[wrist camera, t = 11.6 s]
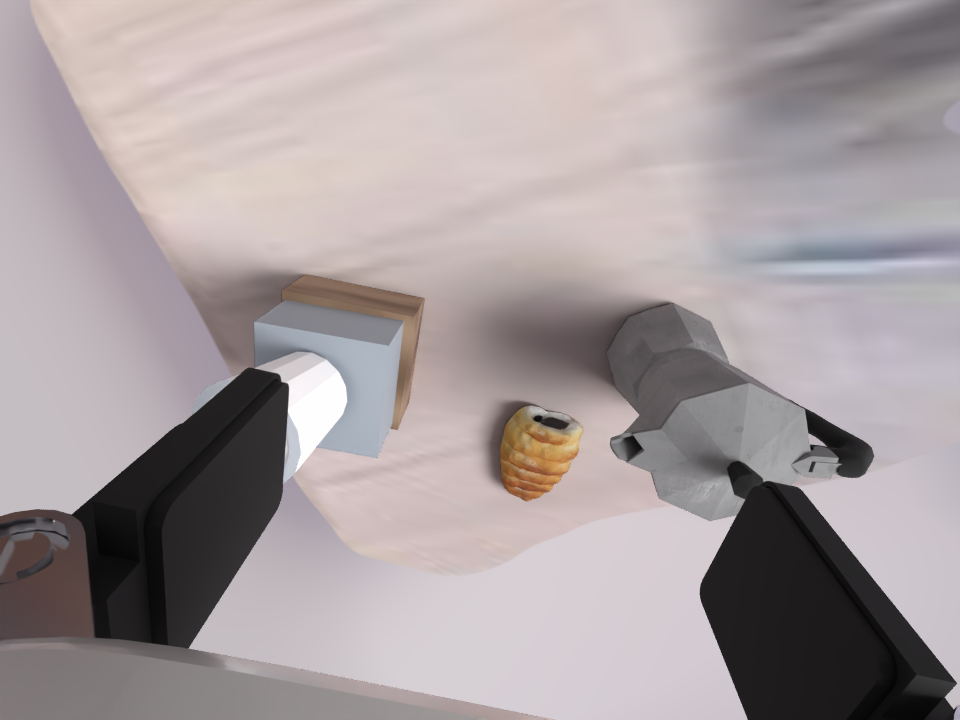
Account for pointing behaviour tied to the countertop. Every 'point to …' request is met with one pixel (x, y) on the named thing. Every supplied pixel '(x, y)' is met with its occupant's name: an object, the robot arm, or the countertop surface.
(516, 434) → the pastry
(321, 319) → the grey top block
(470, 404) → the countertop surface
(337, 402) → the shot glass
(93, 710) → the robot arm
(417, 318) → the walnut base block
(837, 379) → the countertop surface
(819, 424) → the coffeepot
